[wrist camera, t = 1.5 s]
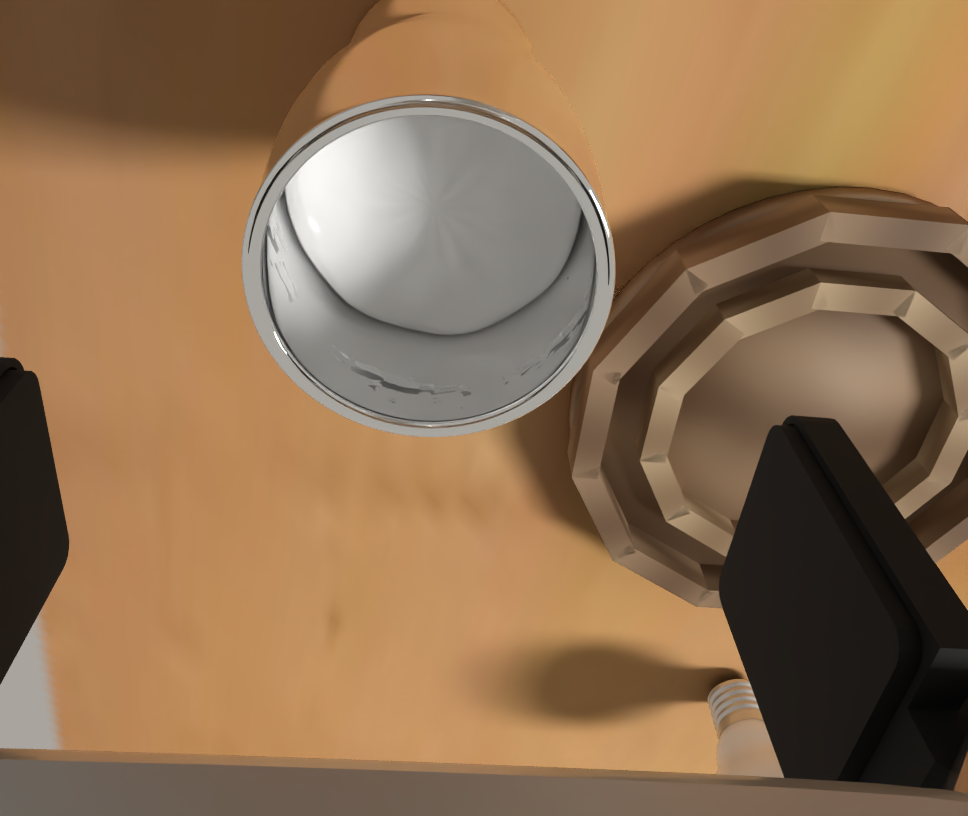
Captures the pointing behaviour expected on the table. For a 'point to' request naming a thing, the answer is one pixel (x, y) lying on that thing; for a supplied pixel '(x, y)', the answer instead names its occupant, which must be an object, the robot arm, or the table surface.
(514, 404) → the beer glass
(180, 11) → the table surface
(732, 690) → the lightbulb
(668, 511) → the tray
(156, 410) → the table surface
